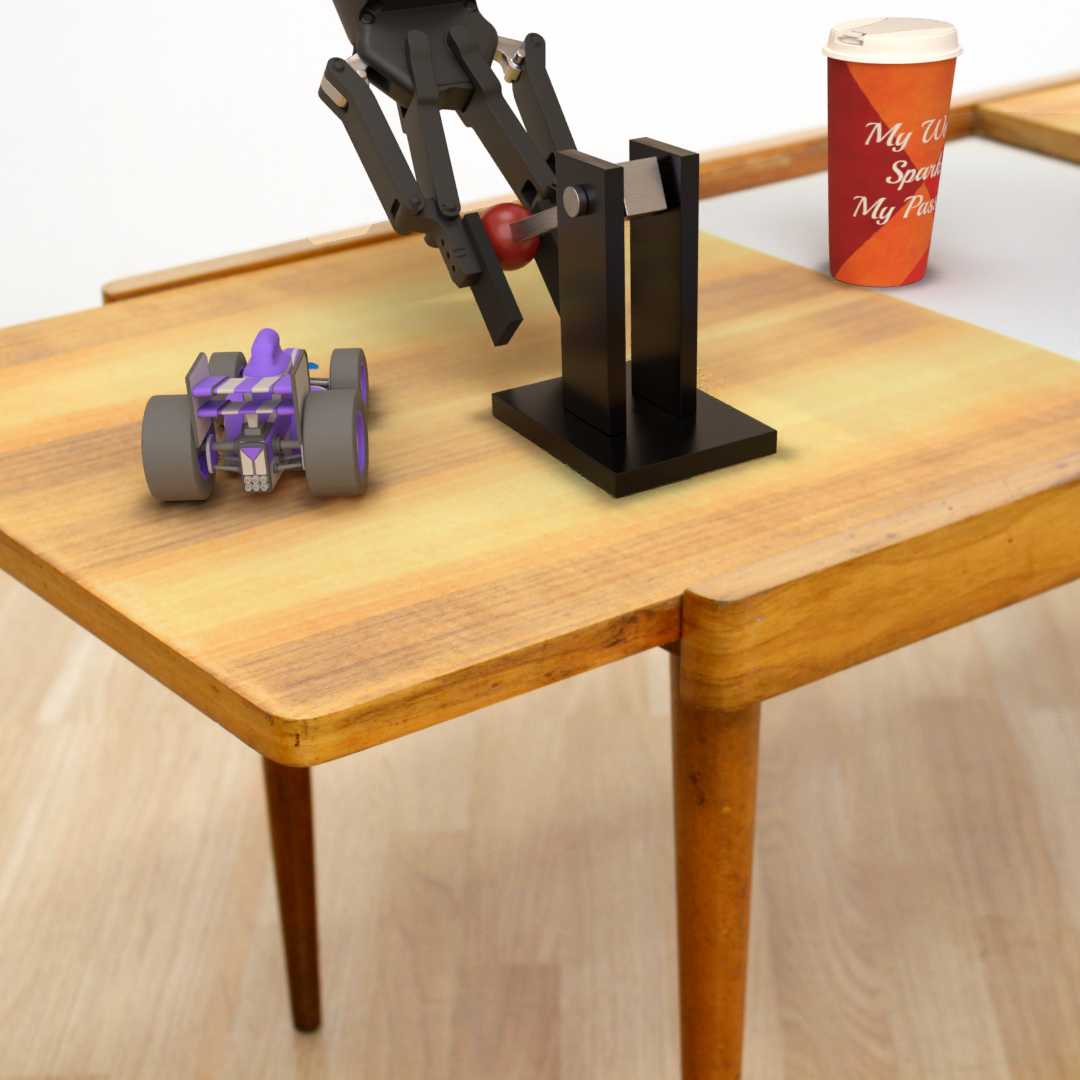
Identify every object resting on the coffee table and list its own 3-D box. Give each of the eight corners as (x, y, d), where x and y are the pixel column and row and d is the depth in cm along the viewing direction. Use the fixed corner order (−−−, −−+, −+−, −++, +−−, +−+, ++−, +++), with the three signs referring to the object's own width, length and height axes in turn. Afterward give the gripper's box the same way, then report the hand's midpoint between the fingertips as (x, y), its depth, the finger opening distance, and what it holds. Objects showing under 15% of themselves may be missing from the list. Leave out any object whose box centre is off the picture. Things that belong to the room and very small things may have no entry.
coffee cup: (876, 301, 93) (893, 42, 86) (784, 269, 99) (793, 26, 93) (973, 274, 97) (997, 25, 90) (879, 245, 103) (895, 10, 97)
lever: (470, 281, 84) (456, 214, 83) (529, 269, 85) (514, 204, 85) (616, 232, 69) (599, 151, 69) (683, 219, 71) (667, 140, 70)
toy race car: (392, 390, 83) (382, 272, 80) (361, 513, 69) (348, 376, 66) (214, 396, 83) (198, 278, 80) (149, 519, 70) (127, 383, 67)
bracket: (492, 414, 79) (477, 142, 73) (640, 378, 83) (638, 117, 77) (616, 498, 70) (611, 194, 64) (777, 453, 74) (787, 162, 67)
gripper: (500, -6, 94) (651, 329, 88) (237, 24, 87) (383, 390, 81) (540, -96, 87) (705, 260, 82) (259, -71, 80) (420, 320, 75)
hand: (544, 324), depth 81 cm, fingers closed on lever, 4 cm apart
